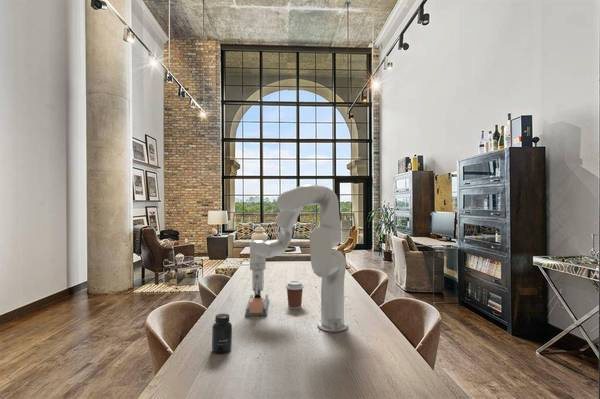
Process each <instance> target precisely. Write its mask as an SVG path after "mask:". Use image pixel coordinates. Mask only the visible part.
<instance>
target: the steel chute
mask: <svg viewBox="0 0 600 399" xmlns="http://www.w3.org/2000/svg"><path fill="white" fill-rule="evenodd" d="M251 298H254V294H250V297H249V298H248V302H247V304H246V308H245V313H244V317H268V311H269V306H270V298H269V294H265V297H264V303H263V313H249V302H250V299H251Z"/></svg>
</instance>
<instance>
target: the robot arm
mask: <svg viewBox="0 0 600 399" xmlns="http://www.w3.org/2000/svg"><path fill="white" fill-rule="evenodd" d="M339 202H340V201H339V198H338V196H337V194H336V193H335V191H334V190H333V189H331V188H329V187H327V186H324V185H318V184H317V185H316V184H305V185H301V186H300V185H299V186H297V187H295V188H293V189H290V190H287V191H284V192H282V193H280V195H278V197H277V200H276V207H277V209H278V210H279V212H278V213H277V216H276V217H275V220H274V222H275V224H276V226H278V227H279V228H280V229H279V233H278V234H277V236H276V238H275V239H273V240H268V241H265V240H262V239H254V240H251V241H250V243H249V271H251V273H252V274H251V281H252V284H251V286H252V287H251V288H252V292H254V294H253V298H262V295H261V294H262V292H263V291H264V288H265V280H264V279H265V273H264V272H265V270H266V261H267V259H269V258H274V257H278V256H281V255H282V254H284V253H285V252H286V250H287V249H288V247H289V245H290V243H291V241H292V238H293V237H292V236H293V227H294V225H295V224H296V221H297V220H298V218H299V216H300V214H301V212H302V211H303V209H304V207H306V206H307V207H308V206H320V209H319V213H318V216H319V226H316V227H314V228H313V229H312V231H311V232H310V235H309V254H310V265H311V269H312V272H313V273H314V274H315V276H317V277H318V278H320V279H321V285H320V286H321V288H320V289H321V290H320V291H321V296H320V300H321V301H320V304H321V306H320V308H321V310H320V318H321V319H320V320H318V322H317V323H316V324H317V327H318V329H320V330H322V331H325V332H329V333H330V332H333V333H336V332H338V333H339V332H343V331H346V330H347V329H348V327H349V326H348V322H347V321H345V279H346V278H345V277H346V270H347V269H346V268H347V260H346V257H345V254H343V253H342V251H339V250H337V249H334V250H333V248H334V247H337V246H338V245H340V243H341V241H342V232H341V228H342V227H341V218H340V206H339V205H340V203H339Z"/></svg>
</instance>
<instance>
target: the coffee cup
mask: <svg viewBox="0 0 600 399" xmlns="http://www.w3.org/2000/svg"><path fill="white" fill-rule="evenodd" d="M304 288H305V285H304V284H303V282H302V281H301V280H300V281H299V280H290V281H288V282H287V284H286V285H285V289H286V296H287V307H288V308H289V309H292V310H298V309H301V308H302V302H303V290H304Z"/></svg>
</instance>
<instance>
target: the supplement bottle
mask: <svg viewBox="0 0 600 399" xmlns="http://www.w3.org/2000/svg"><path fill="white" fill-rule="evenodd" d="M214 322H215V323H213V324H212V326H211V327H212V328H211V352H212V353H214V354H217V355H218V354H219V355H223V354H227V353H229V352H230V351H231V350H232V346H233V345H232V343H233V342H232V341H233V324H232V323H231V322H230V314H229V313H228V314H227V313H218V314H216V315H215V320H214Z"/></svg>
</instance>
